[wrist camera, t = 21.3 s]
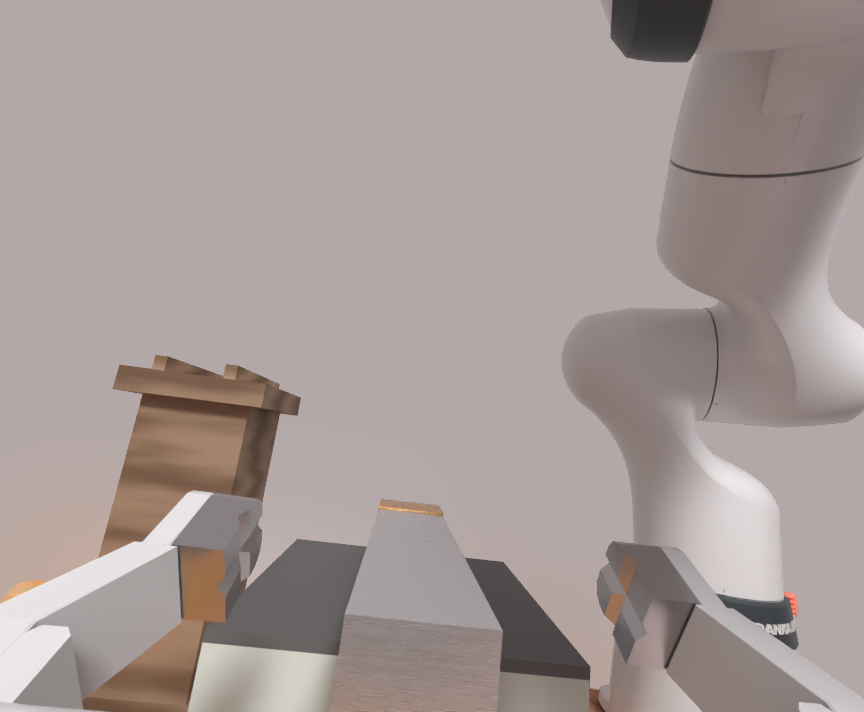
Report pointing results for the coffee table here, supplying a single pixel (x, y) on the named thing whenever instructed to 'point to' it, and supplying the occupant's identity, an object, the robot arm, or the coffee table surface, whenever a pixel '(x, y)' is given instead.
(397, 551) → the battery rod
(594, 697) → the coffee table surface
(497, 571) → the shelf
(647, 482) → the robot arm
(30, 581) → the coffee table surface
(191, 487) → the stand
